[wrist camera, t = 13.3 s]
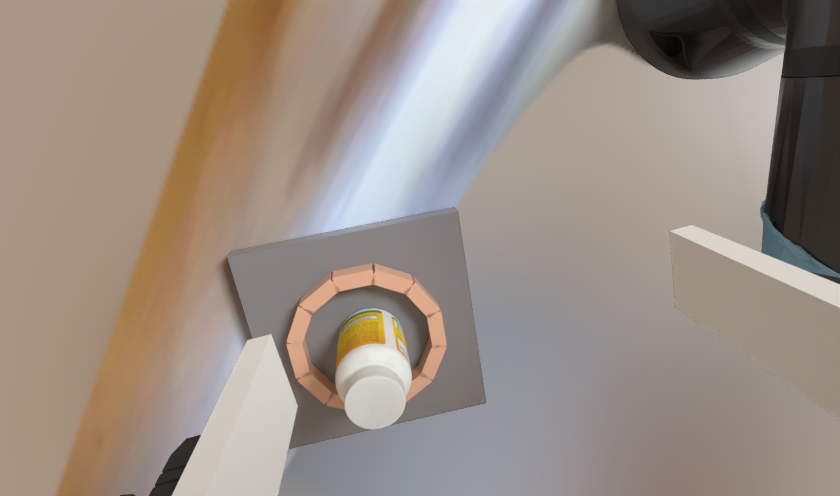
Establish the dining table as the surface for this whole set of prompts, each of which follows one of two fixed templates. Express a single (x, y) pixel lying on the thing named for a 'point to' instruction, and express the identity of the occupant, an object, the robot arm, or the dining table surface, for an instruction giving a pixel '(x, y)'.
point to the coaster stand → (357, 290)
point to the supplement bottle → (372, 368)
